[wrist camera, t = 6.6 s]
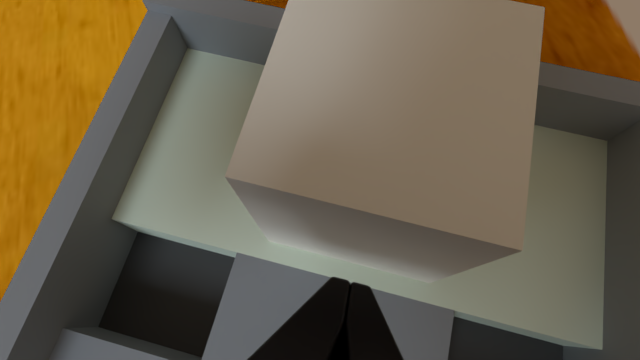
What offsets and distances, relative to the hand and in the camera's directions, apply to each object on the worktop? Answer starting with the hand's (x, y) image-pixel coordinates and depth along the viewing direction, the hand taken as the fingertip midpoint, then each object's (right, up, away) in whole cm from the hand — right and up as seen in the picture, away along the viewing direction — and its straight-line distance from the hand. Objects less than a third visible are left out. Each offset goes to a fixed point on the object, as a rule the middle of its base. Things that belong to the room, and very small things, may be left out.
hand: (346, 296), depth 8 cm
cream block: (+1, +2, +7) cm, 7 cm away
